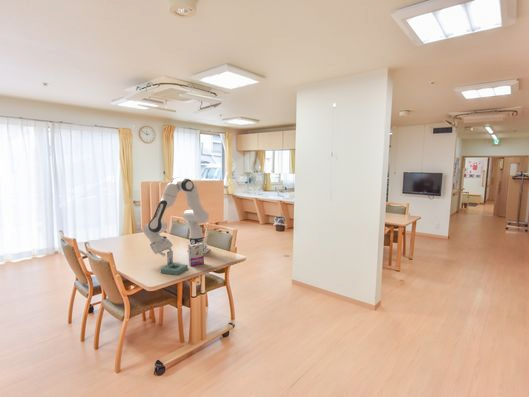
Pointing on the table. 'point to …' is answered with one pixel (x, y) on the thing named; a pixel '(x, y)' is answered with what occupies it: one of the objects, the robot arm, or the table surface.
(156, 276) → the table surface
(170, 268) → the block
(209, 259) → the table surface
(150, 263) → the table surface
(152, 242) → the robot arm
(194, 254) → the candy bar box
